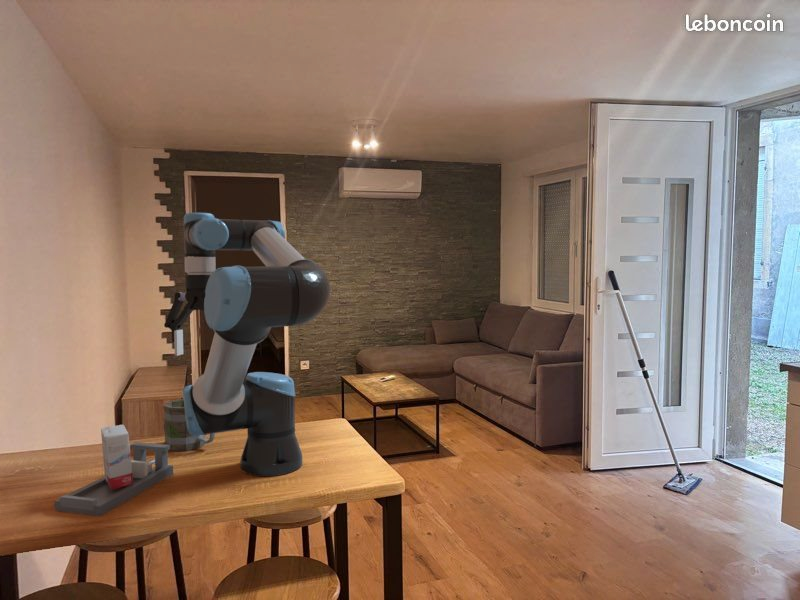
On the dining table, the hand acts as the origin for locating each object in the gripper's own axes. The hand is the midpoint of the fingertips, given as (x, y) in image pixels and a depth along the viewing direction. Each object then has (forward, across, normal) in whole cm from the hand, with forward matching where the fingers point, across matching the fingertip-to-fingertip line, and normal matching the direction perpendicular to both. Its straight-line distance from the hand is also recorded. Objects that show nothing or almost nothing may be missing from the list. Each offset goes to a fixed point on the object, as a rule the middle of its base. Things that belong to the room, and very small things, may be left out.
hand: (202, 356), depth 151 cm
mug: (+27, +8, -6) cm, 29 cm away
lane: (+27, +6, +24) cm, 37 cm away
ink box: (+25, +6, +24) cm, 36 cm away
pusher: (+25, +6, +14) cm, 30 cm away
